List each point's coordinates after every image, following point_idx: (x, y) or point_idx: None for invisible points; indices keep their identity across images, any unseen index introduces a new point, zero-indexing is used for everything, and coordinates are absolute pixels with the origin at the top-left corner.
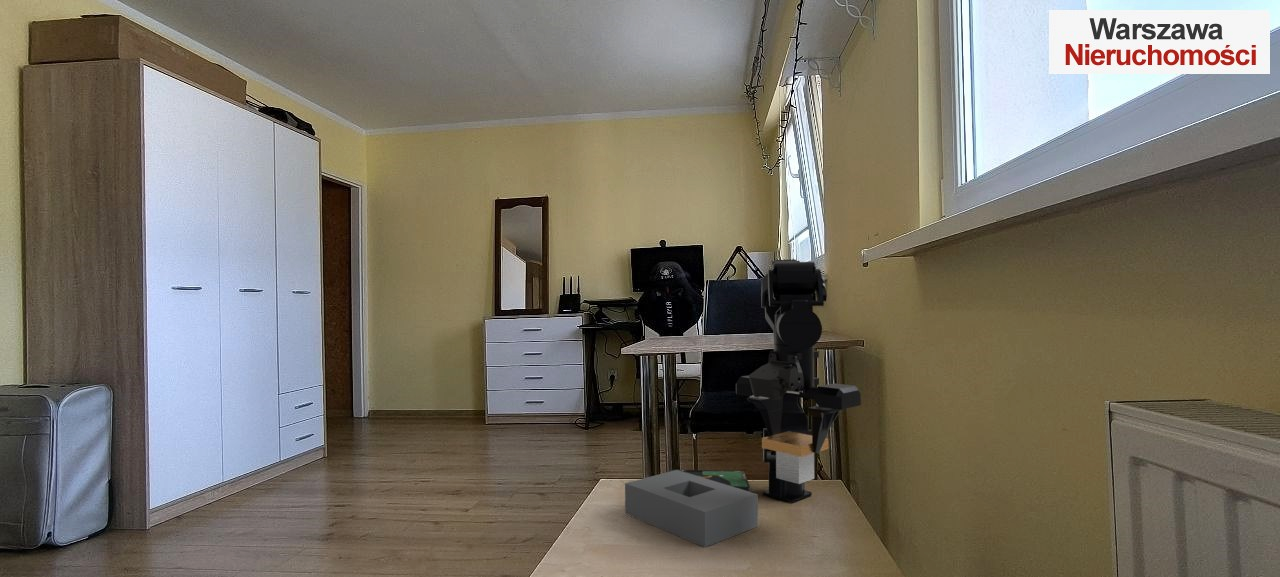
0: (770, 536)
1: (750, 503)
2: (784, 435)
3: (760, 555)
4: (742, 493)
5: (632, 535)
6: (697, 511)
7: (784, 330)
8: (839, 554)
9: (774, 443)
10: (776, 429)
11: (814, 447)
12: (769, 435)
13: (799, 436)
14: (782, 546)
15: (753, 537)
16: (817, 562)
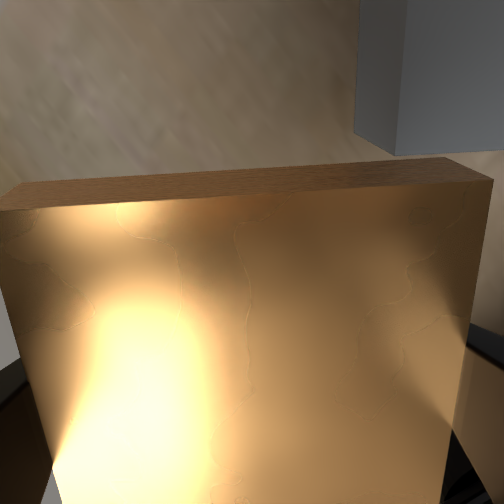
0: (270, 97)
1: (388, 98)
2: (383, 408)
3: None
4: (452, 108)
5: None
6: None
7: None
8: (34, 158)
9: (322, 181)
10: (484, 424)
11: (21, 364)
12: (499, 337)
13: (274, 468)
14: (186, 57)
15: (304, 38)
16: (23, 41)
